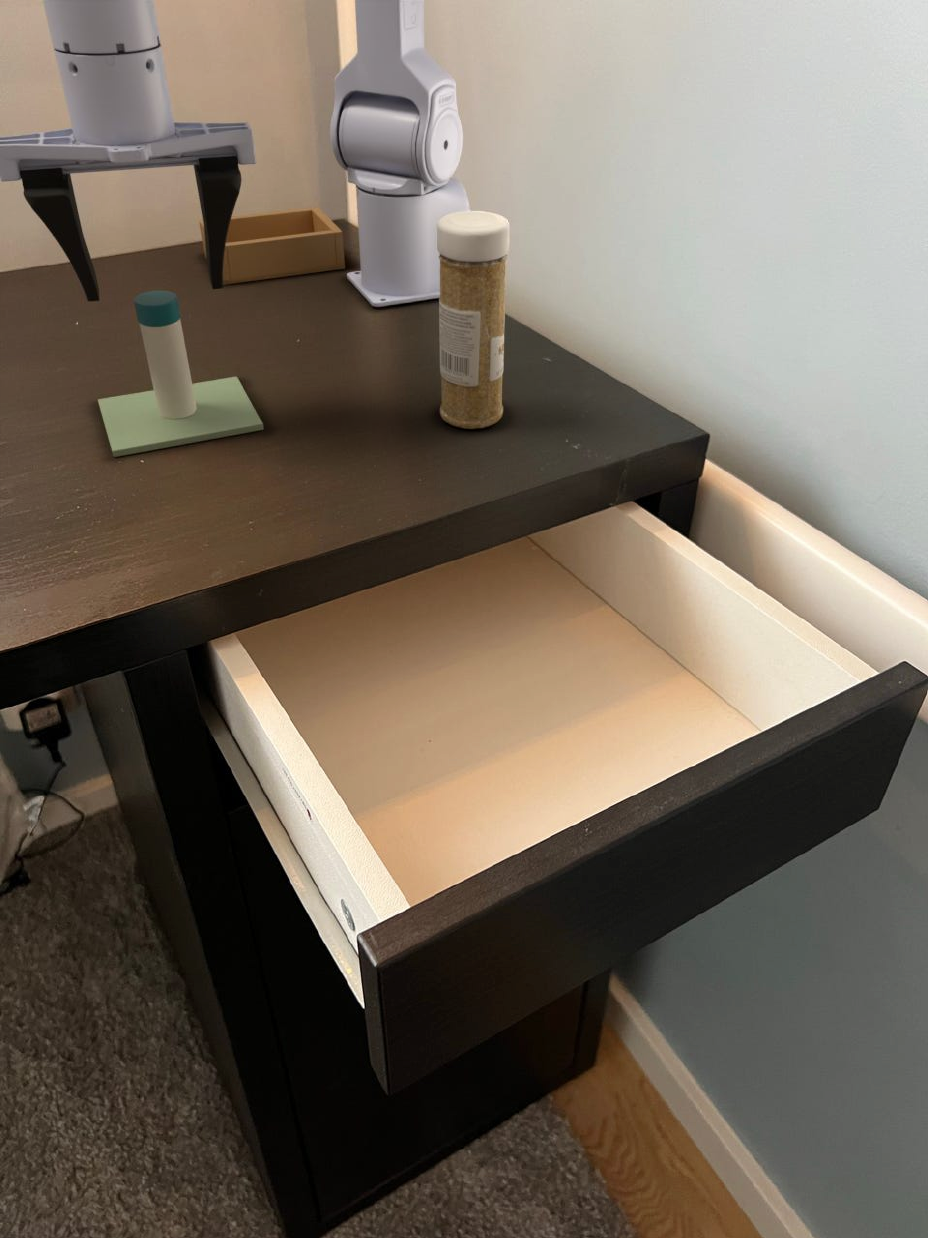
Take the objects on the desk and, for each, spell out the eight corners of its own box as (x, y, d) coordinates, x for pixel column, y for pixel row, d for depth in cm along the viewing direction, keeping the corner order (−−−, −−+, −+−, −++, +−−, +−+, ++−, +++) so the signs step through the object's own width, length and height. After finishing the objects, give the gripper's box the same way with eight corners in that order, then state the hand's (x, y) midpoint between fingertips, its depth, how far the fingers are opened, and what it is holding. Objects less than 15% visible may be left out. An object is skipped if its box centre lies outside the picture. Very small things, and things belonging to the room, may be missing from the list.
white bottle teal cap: (190, 398, 69) (169, 287, 63) (202, 414, 67) (182, 300, 62) (153, 407, 67) (128, 294, 62) (164, 423, 66) (140, 308, 61)
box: (320, 241, 96) (317, 206, 94) (345, 268, 91) (342, 231, 88) (204, 256, 93) (198, 219, 91) (222, 284, 87) (216, 246, 85)
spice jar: (515, 420, 67) (525, 222, 59) (461, 437, 65) (463, 235, 57) (479, 395, 70) (483, 203, 62) (426, 411, 68) (422, 215, 60)
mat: (237, 382, 72) (236, 375, 71) (263, 429, 66) (262, 423, 66) (99, 405, 69) (97, 398, 68) (113, 457, 63) (112, 450, 63)
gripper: (-40, 65, 48) (34, 325, 57) (249, 52, 52) (278, 300, 61) (-29, 42, 54) (38, 283, 62) (233, 32, 57) (262, 262, 66)
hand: (156, 289), depth 62 cm, fingers open, 7 cm apart
